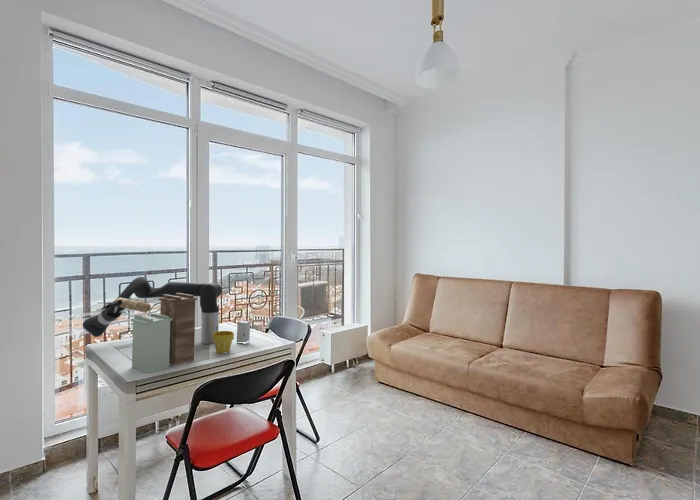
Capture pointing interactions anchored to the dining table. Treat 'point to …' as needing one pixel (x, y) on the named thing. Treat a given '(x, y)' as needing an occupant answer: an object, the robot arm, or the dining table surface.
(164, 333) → the pale green lidded tub
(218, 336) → the plant pot
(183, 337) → the walnut tub
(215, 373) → the dining table surface
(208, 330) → the robot arm
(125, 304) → the tan roll
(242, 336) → the skincare box
